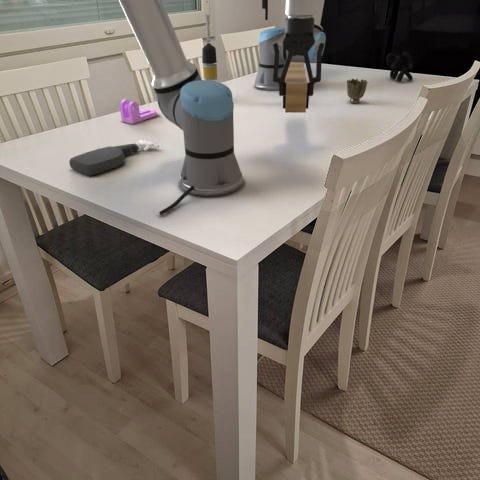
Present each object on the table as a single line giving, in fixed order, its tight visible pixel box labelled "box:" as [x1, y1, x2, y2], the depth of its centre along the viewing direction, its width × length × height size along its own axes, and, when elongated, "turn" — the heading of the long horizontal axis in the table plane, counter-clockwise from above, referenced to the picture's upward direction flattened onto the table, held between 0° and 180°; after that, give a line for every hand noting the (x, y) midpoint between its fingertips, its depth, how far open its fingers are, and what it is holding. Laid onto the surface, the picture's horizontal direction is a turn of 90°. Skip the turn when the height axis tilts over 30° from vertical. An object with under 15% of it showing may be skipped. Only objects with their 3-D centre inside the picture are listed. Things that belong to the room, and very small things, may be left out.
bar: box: [284, 62, 309, 114], centre depth 135 cm, size 30×6×8 cm, turn 175°
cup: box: [346, 78, 368, 104], centre depth 168 cm, size 8×7×8 cm
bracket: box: [118, 99, 158, 125], centre depth 156 cm, size 13×6×7 cm, turn 143°
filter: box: [201, 14, 218, 82], centre depth 171 cm, size 6×6×30 cm
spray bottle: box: [68, 139, 160, 177], centre depth 124 cm, size 3×11×24 cm
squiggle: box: [385, 51, 414, 83], centre depth 198 cm, size 11×10×15 cm
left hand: (295, 107), depth 127 cm, fingers closed on bar, 6 cm apart
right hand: (286, 19), depth 153 cm, fingers open, 13 cm apart
